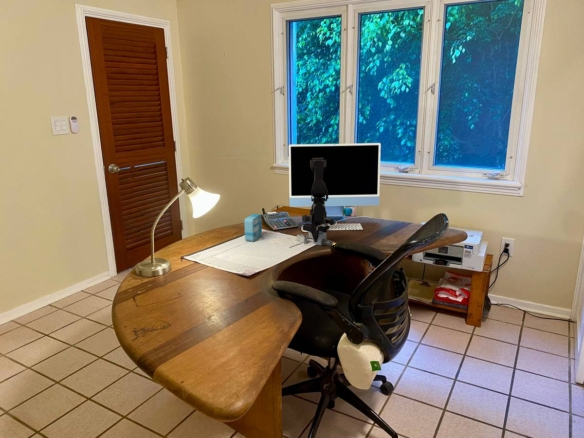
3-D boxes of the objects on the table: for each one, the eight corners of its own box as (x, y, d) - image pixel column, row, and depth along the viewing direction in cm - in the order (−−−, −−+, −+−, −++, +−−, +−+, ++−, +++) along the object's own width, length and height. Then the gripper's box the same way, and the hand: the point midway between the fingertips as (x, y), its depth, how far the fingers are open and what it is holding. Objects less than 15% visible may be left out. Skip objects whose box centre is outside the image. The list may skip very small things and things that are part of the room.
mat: (281, 237, 226) (281, 236, 226) (301, 243, 217) (301, 242, 217) (269, 241, 220) (269, 241, 220) (289, 247, 211) (289, 247, 211)
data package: (253, 242, 219) (252, 219, 216) (245, 241, 220) (244, 218, 217) (262, 235, 230) (261, 213, 227) (254, 234, 231) (253, 213, 228)
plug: (318, 241, 220) (318, 230, 219) (338, 246, 212) (338, 235, 210) (312, 243, 217) (313, 232, 215) (332, 248, 209) (333, 237, 207)
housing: (311, 236, 228) (311, 229, 227) (318, 238, 224) (318, 231, 223) (296, 241, 219) (296, 234, 218) (304, 243, 216) (304, 236, 215)
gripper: (318, 204, 225) (317, 233, 229) (294, 211, 212) (294, 242, 216) (335, 208, 218) (334, 237, 222) (311, 215, 204) (311, 246, 209)
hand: (318, 240), depth 217 cm, fingers closed on plug, 4 cm apart
